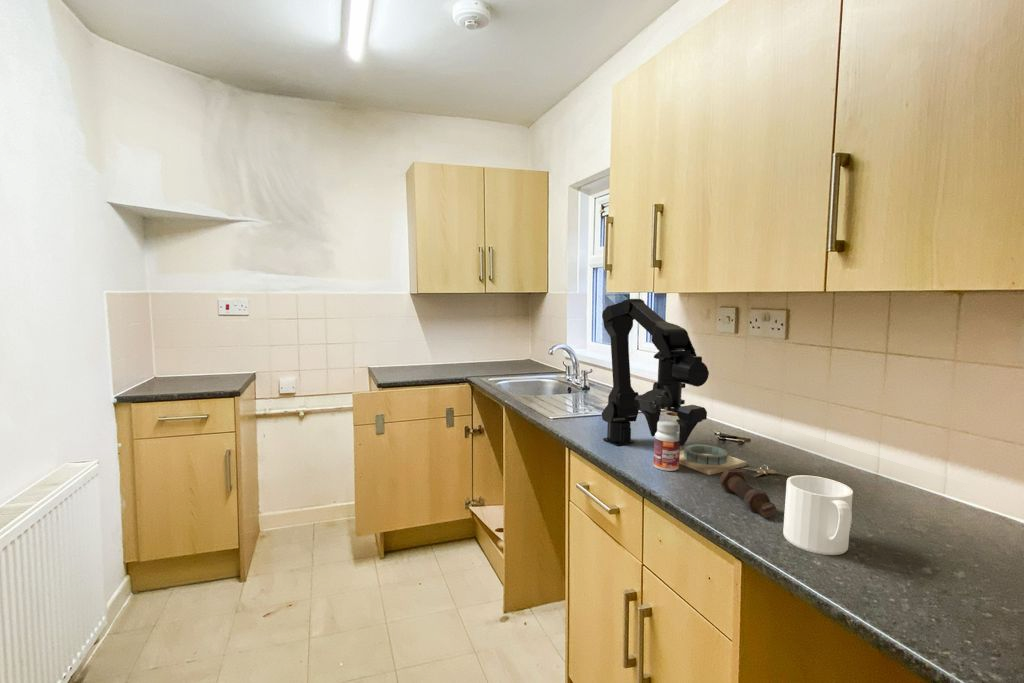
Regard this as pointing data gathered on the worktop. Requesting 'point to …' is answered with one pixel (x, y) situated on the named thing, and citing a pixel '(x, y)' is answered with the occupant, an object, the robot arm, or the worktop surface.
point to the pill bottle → (667, 446)
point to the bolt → (747, 493)
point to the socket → (708, 459)
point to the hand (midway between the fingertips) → (667, 440)
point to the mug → (818, 514)
